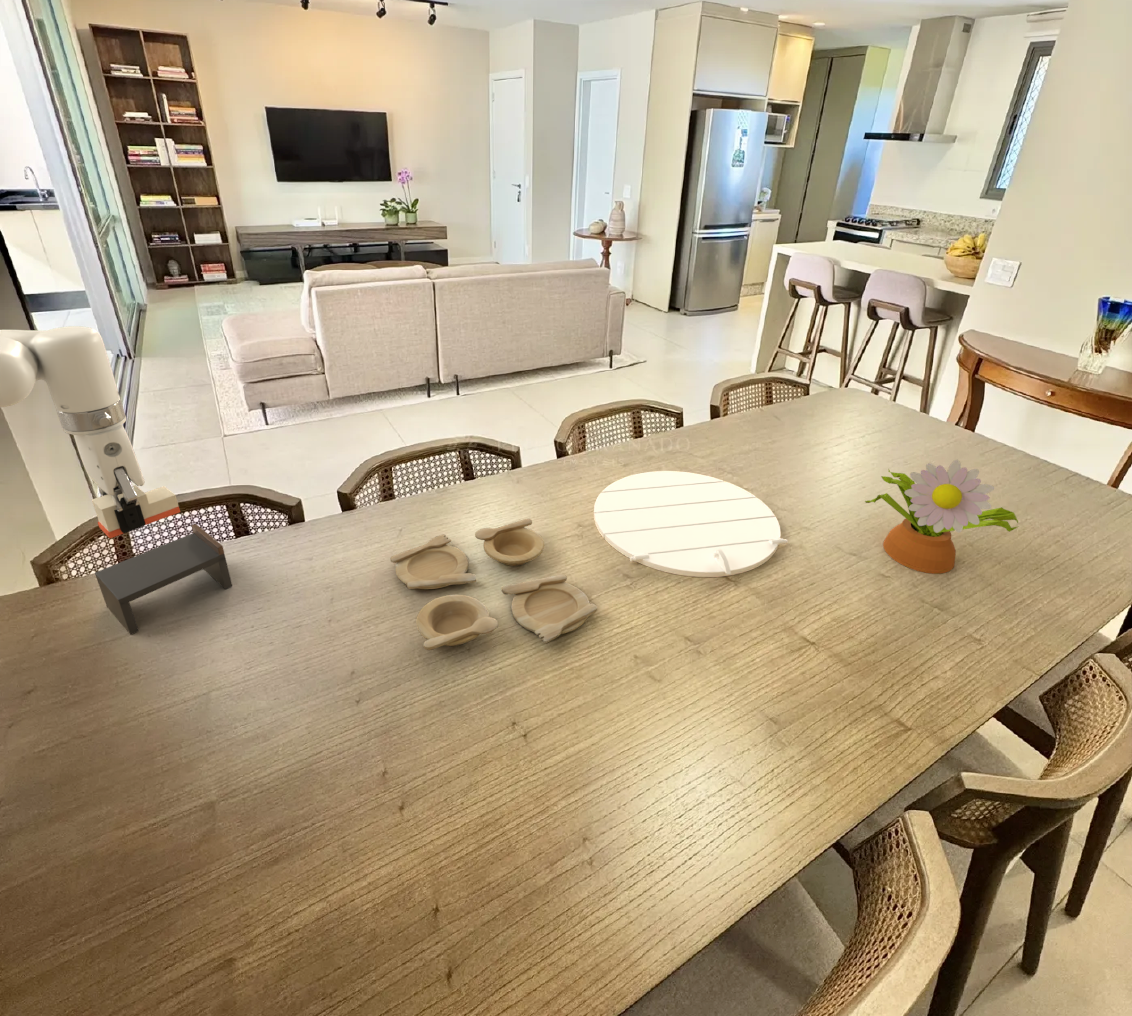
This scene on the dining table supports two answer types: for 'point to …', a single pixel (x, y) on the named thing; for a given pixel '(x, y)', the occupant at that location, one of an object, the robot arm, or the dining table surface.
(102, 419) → the robot arm
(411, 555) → the tableware set
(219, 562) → the shoe shelf
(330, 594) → the dining table surface
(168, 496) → the orange-based notched block
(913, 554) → the decorative plant
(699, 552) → the lazy susan
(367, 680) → the dining table surface
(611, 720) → the dining table surface
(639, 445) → the dining table surface
